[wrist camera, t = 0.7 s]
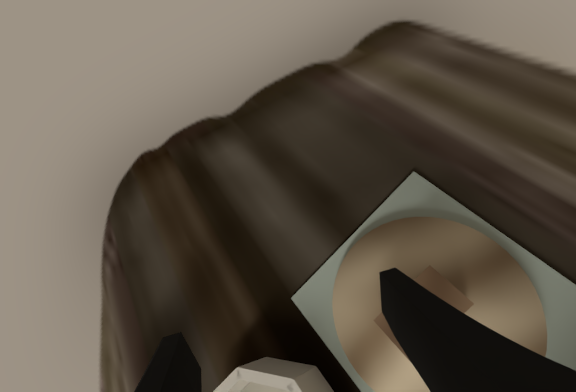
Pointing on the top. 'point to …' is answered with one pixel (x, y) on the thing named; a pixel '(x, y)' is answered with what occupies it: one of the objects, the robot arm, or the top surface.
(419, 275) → the lid
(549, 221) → the top surface
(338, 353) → the mat
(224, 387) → the bowl
